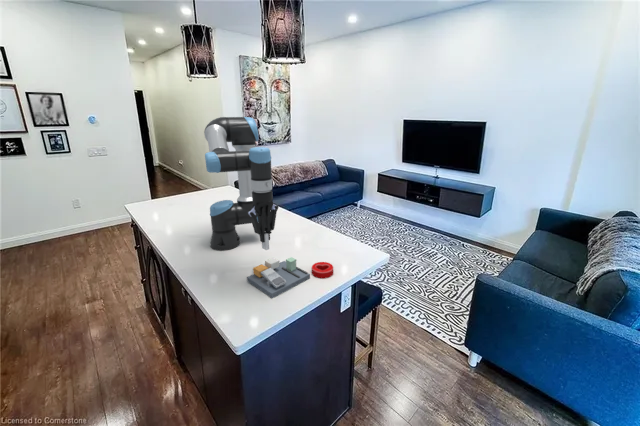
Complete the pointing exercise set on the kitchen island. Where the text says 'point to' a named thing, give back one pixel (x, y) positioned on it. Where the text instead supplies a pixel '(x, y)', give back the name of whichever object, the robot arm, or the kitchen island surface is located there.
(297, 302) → the kitchen island surface
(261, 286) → the panel
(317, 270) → the decorative ornament
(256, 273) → the button
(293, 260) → the pale green block
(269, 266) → the button
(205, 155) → the robot arm
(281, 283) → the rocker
